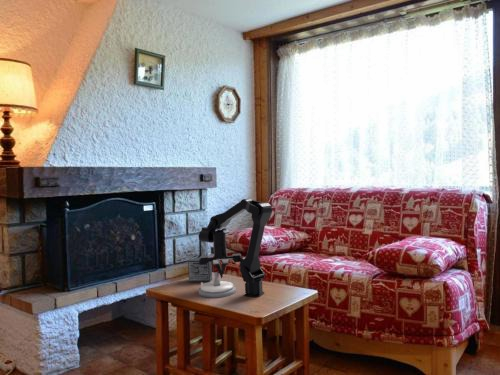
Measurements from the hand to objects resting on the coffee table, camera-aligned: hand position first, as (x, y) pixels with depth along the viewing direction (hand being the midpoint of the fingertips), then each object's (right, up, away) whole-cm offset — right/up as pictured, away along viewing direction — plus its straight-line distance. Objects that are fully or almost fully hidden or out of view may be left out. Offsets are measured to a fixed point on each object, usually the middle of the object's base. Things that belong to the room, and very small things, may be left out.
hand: (221, 277), depth 190 cm
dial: (-2, -3, -6) cm, 7 cm away
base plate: (-2, -5, -6) cm, 8 cm away
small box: (-11, -5, +15) cm, 19 cm away
